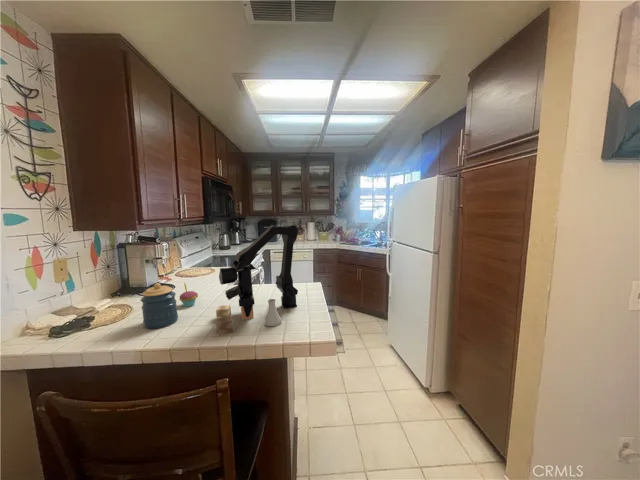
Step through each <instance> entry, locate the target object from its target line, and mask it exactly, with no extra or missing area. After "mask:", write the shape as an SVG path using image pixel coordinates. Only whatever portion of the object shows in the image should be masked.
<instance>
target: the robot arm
mask: <svg viewBox="0 0 640 480" xmlns="http://www.w3.org/2000/svg"><path fill="white" fill-rule="evenodd" d="M276 235H281V239H282V241H283V247H282V248H283V249H282V257H281V258H282V260H281V269H280V273H279V275H276V276H275V279H276V280H275V285H276V288H277V289H278V290H279V291H280V293H281V297H280V302H281V303H280V304H281V306H282V309H291V308H297V307H298V305H297V295H298V293H299V292H298V291H299V290H298V289H297V288H296V287H295V286H294V281H293V276H292V265H293V264H292V263H293V254H294V244H295V243H296V241H297V239H298V235H299V228H298V227H297V226H296V225H294V224H285V225H283V226H281V225H279V226H276V225H270V226H268V228H267V229H266V230H264V232H263V233H261V234H260V235H259V237H257V238H256V239H255V240H254V241H253V242H252V243H251V244H250V245H248V246H247V247H245V248H243V249H241V250H240V251H238V252H237V253H236V254H235V258H234V261H233V262H232V264H231V265H230V267H220V268H219V275H218V279H219V280H218V281H219V283H220V285H222V286H223V285H228V284H234V283H236V281H237V285H236V286H233V287H231V288H229V289H227V290H225V293H224V294H225V296H226V298H227V300H229V301H230V300H231V299H233V298H235V297H237V296H238V298H239V299H238V307H240V308H241V306H242V307H243V308H244V311H245V314H246V317H249V315H250V312H251V310H252V307H253V308H254V305H255V297H254V293H253V292H254V289H253V279H252V277H253V276H252V271H253V270H256V269H257V267H255V266H254V265H253V264H252V262H253V261H254V260H255V258H256V256H257V254H258V253H259V251H260V250H262V249H263V247H264V246H265V245H266V244H268V243H269V241H271V240H272V239H273V238H274V237H275V236H276Z"/></svg>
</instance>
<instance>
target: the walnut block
mask: <svg viewBox="0 0 640 480" xmlns="http://www.w3.org/2000/svg"><path fill="white" fill-rule="evenodd" d="M215 320H216V321H215V323H216V331H217V334H218V335H219V337H220V336H221V337H222V336H225V335H228V334H232V333H234V328H233V319H232V318H231V317H229V316H227V317H223V318H219V319H217V318H216V319H215Z"/></svg>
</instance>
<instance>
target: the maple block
mask: <svg viewBox="0 0 640 480" xmlns="http://www.w3.org/2000/svg"><path fill="white" fill-rule="evenodd" d="M215 313H216V319H219V318H223V317H227V316H229V317H230V318H231V316H232V308H231V305H229V304H228V305H227V304H226V305H218V306H217V308H216V310H215Z"/></svg>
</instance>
